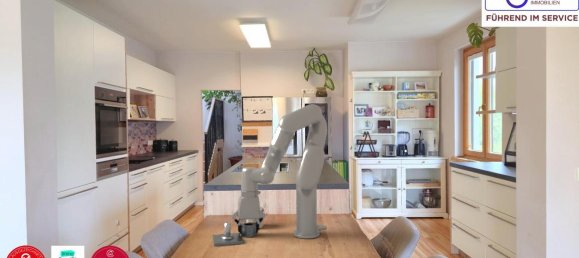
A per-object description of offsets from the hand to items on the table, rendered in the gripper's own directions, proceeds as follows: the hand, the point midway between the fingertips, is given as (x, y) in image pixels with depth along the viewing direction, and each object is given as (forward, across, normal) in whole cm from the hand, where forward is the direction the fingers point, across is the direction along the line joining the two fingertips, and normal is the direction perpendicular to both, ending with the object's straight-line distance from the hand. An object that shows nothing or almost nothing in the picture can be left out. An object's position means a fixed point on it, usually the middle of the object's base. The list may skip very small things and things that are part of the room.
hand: (248, 232), depth 152 cm
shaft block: (+1, +10, +5) cm, 11 cm away
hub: (+1, 0, 0) cm, 1 cm away
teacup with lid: (+1, -4, -13) cm, 13 cm away
